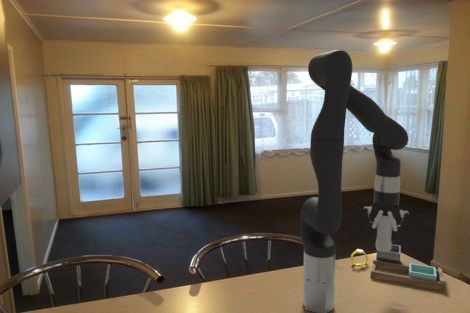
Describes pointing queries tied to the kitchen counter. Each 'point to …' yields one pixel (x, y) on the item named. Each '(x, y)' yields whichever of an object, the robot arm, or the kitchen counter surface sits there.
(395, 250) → the open metal box
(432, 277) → the box
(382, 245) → the beverage can
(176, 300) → the kitchen counter surface
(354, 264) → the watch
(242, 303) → the kitchen counter surface
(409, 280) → the bay
